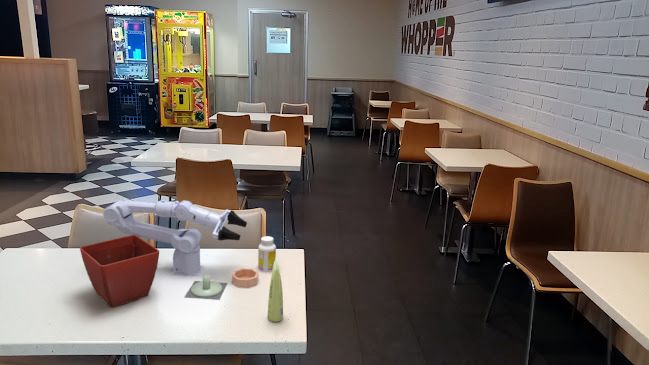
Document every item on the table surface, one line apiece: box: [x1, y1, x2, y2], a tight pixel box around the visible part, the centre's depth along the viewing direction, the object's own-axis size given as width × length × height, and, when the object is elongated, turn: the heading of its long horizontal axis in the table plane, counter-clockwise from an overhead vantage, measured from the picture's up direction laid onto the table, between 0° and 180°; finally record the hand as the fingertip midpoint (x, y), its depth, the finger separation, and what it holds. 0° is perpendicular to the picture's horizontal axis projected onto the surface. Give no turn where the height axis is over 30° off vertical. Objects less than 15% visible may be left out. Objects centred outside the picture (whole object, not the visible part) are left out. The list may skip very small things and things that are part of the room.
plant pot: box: [79, 235, 160, 308], centre depth 164 cm, size 19×19×17 cm
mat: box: [184, 280, 228, 301], centre depth 171 cm, size 12×12×1 cm
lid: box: [190, 274, 222, 297], centre depth 170 cm, size 10×10×5 cm
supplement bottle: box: [257, 235, 277, 273], centre depth 188 cm, size 7×7×13 cm
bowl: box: [231, 267, 260, 289], centre depth 178 cm, size 9×9×4 cm
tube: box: [267, 256, 284, 323], centre depth 154 cm, size 6×5×20 cm
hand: (243, 231), depth 179 cm, fingers open, 7 cm apart
